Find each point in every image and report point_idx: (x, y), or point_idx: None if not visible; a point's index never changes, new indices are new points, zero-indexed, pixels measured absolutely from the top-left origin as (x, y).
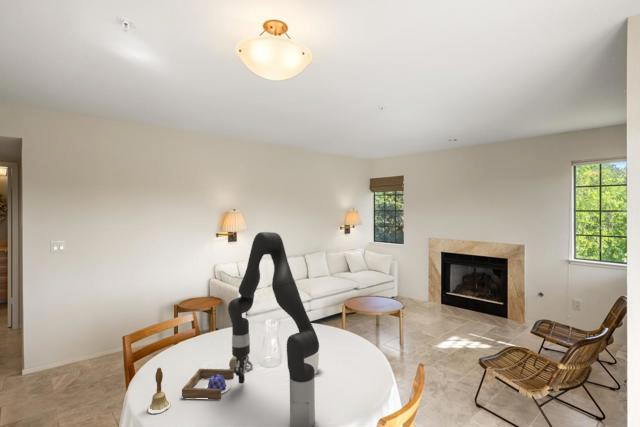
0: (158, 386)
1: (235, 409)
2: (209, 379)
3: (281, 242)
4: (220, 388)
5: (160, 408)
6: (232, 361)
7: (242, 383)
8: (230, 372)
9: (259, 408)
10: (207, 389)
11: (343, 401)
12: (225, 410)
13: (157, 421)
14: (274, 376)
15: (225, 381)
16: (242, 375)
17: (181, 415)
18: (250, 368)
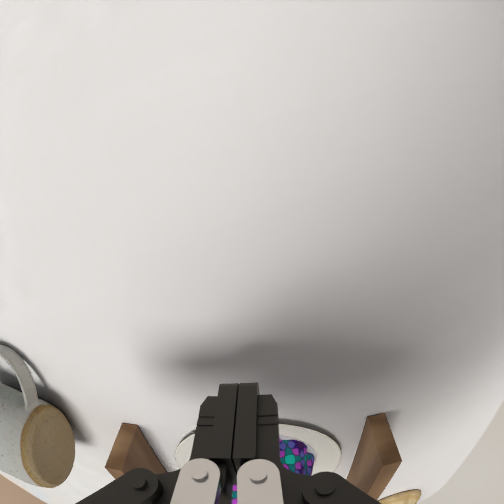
0: None
1: (492, 288)
2: None
3: None
4: (295, 460)
5: (414, 501)
6: (56, 478)
7: (258, 386)
8: (131, 468)
9: (494, 115)
10: (374, 496)
11: None
12: (485, 339)
13: (454, 472)
14: (2, 139)
15: (181, 451)
16: (320, 472)
17: (452, 453)
18: (6, 356)
